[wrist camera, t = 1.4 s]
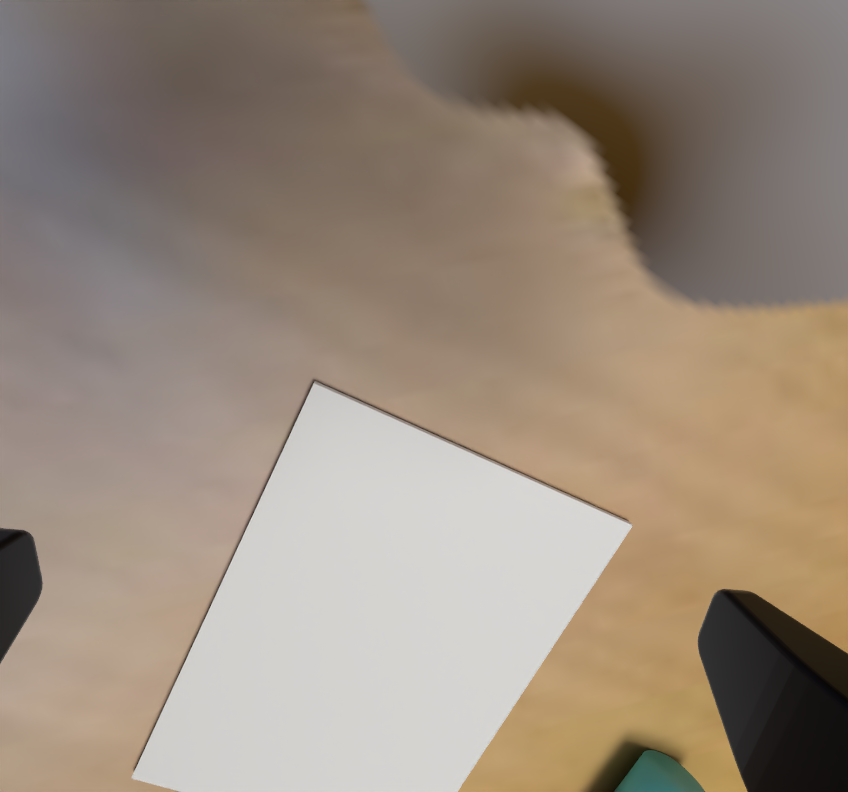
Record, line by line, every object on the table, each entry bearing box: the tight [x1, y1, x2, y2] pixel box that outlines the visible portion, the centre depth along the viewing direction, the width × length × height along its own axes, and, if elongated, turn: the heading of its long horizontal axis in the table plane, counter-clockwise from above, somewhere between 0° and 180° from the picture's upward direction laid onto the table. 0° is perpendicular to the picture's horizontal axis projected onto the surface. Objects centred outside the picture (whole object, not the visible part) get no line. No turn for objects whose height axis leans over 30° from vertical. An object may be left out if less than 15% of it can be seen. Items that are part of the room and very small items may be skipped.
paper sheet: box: [132, 381, 633, 792], centre depth 23 cm, size 20×14×1 cm
